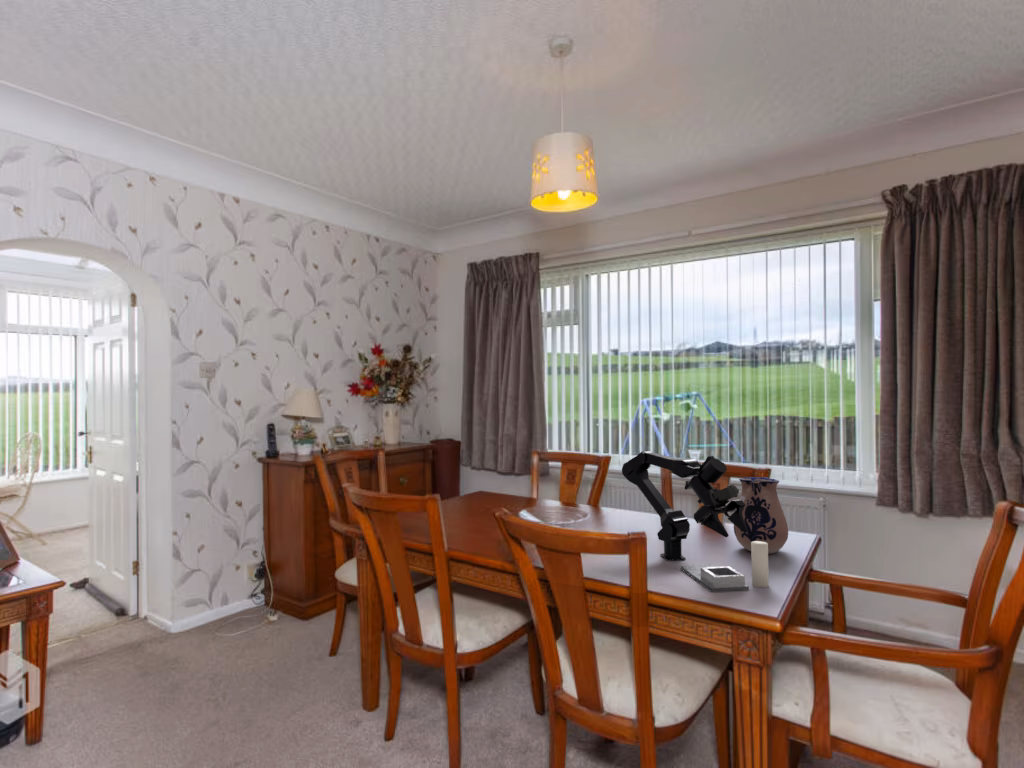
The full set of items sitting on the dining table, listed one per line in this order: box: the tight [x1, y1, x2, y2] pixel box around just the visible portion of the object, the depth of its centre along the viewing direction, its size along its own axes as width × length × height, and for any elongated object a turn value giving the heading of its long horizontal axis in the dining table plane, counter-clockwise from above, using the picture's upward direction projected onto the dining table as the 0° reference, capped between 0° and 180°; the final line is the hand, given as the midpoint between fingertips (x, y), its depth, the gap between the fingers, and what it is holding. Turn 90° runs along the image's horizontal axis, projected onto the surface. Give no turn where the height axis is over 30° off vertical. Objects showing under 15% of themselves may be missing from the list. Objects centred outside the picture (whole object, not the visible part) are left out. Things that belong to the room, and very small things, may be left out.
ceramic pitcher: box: [733, 476, 789, 555], centre depth 195 cm, size 18×21×25 cm
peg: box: [750, 541, 770, 588], centre depth 159 cm, size 4×4×12 cm
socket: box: [680, 563, 750, 593], centre depth 164 cm, size 20×11×4 cm, turn 7°
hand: (737, 534), depth 165 cm, fingers open, 9 cm apart
